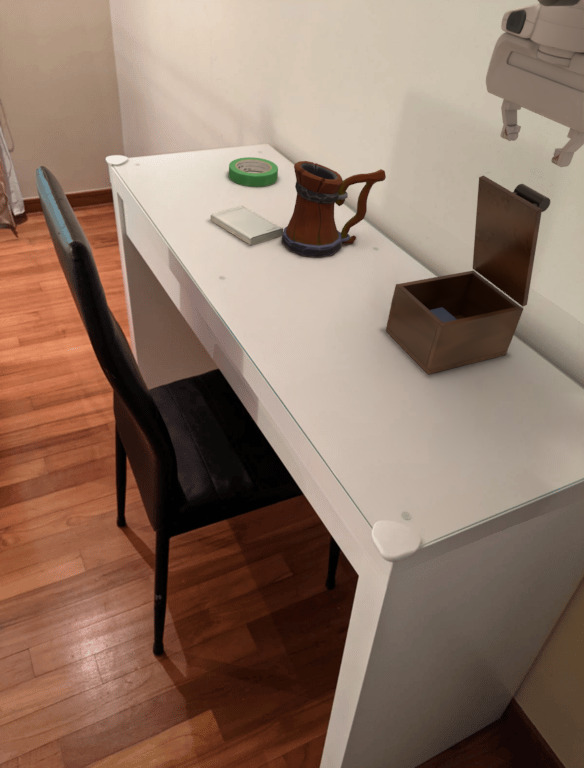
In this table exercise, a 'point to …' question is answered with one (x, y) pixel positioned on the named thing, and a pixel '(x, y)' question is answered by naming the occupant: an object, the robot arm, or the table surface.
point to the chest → (458, 337)
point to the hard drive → (246, 225)
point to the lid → (507, 236)
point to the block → (443, 314)
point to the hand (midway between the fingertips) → (532, 151)
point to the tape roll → (253, 179)
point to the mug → (323, 209)
